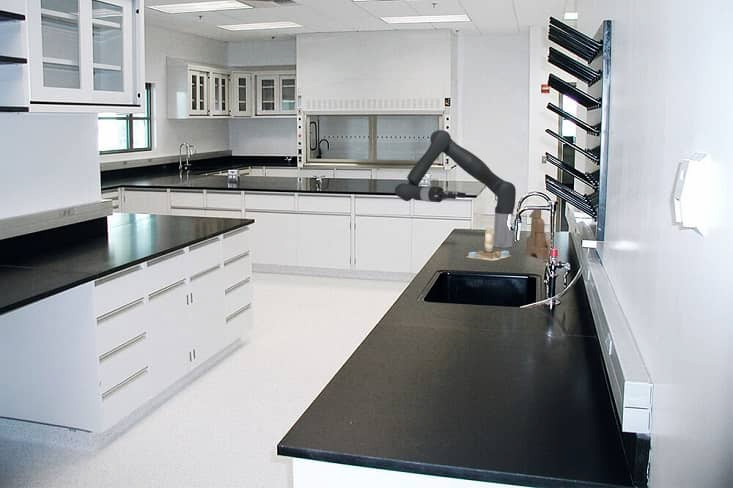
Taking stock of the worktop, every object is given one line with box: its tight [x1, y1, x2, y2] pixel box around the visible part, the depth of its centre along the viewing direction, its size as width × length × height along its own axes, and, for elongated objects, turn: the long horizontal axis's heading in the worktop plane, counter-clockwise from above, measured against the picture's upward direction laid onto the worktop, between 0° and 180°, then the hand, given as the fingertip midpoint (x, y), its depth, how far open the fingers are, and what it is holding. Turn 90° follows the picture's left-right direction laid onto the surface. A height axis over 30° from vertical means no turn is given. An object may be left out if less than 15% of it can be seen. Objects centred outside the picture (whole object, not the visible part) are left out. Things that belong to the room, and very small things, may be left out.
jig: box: [466, 250, 511, 262], centre depth 327 cm, size 18×14×4 cm
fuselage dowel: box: [484, 227, 495, 253], centre depth 324 cm, size 4×4×13 cm
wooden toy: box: [525, 209, 551, 263], centre depth 327 cm, size 15×7×25 cm, turn 20°
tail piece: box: [468, 251, 478, 259], centre depth 325 cm, size 4×2×2 cm, turn 140°
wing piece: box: [500, 250, 510, 258], centre depth 329 cm, size 6×2×2 cm, turn 140°
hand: (460, 196), depth 333 cm, fingers open, 8 cm apart
